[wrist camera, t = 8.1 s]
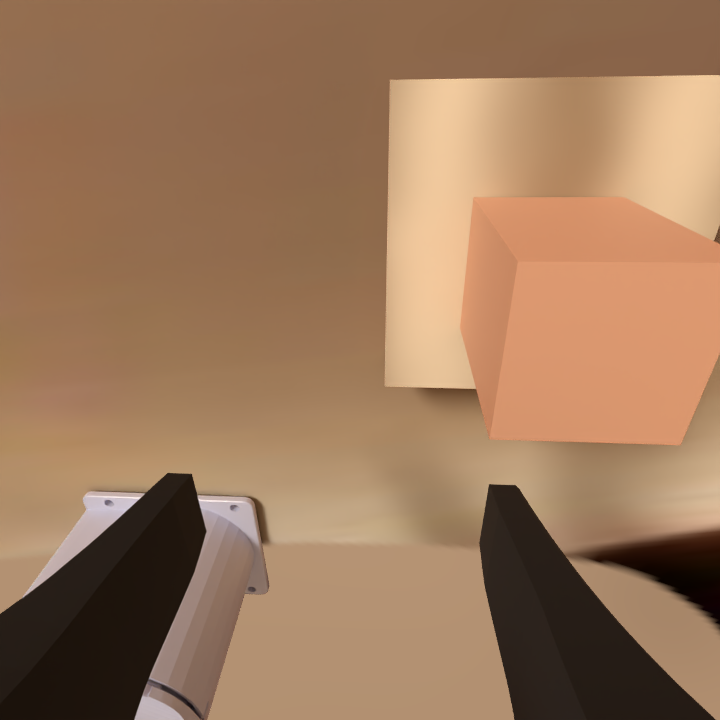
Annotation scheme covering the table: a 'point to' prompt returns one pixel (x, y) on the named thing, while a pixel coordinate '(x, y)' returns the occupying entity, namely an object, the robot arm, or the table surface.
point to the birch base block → (526, 182)
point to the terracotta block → (588, 319)
